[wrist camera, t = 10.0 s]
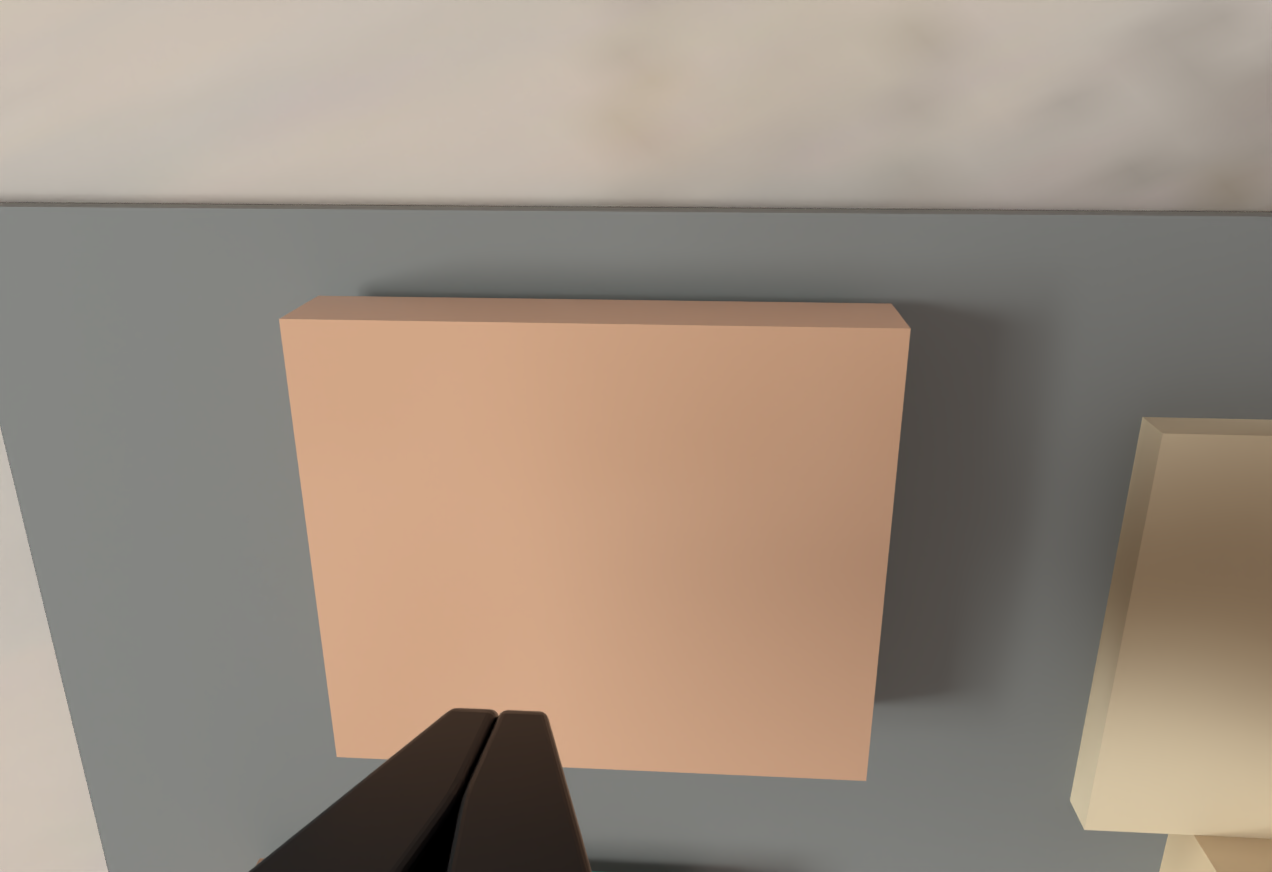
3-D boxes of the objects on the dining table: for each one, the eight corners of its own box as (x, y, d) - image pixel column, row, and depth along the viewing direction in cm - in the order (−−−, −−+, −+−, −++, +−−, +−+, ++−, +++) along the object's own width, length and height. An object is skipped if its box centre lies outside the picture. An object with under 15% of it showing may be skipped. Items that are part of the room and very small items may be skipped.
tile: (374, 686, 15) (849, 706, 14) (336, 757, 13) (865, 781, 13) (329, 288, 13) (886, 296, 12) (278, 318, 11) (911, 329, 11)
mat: (1310, 1222, 18) (1323, 1247, 18) (189, 1141, 19) (179, 1163, 19) (1676, 215, 12) (1709, 219, 11) (-32, 201, 13) (-54, 206, 13)
